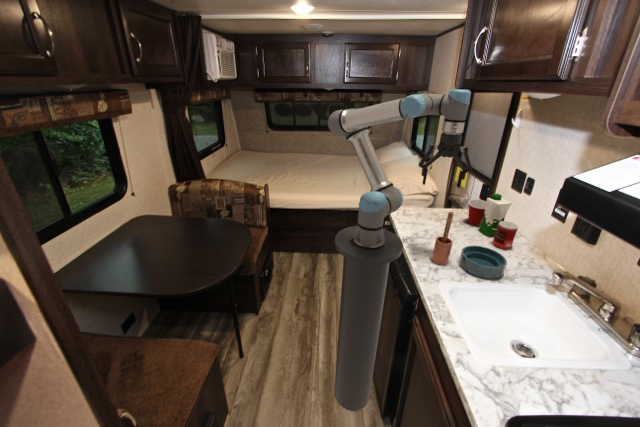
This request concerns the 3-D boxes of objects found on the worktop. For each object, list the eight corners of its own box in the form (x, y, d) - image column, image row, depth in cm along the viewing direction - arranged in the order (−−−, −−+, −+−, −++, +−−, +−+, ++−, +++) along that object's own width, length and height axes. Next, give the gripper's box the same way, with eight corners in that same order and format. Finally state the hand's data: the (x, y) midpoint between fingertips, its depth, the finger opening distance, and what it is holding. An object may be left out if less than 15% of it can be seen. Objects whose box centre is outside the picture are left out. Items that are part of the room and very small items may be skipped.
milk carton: (490, 228, 154) (501, 192, 145) (503, 236, 146) (515, 199, 137) (475, 229, 152) (486, 193, 144) (488, 237, 144) (499, 200, 136)
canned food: (511, 244, 139) (518, 223, 134) (510, 251, 133) (517, 230, 128) (493, 239, 143) (499, 219, 138) (491, 246, 137) (498, 225, 132)
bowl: (463, 276, 115) (467, 264, 113) (455, 254, 130) (458, 243, 128) (508, 282, 112) (513, 270, 110) (495, 259, 127) (498, 248, 125)
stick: (436, 260, 124) (447, 213, 114) (435, 256, 126) (446, 210, 117) (444, 261, 123) (455, 214, 114) (443, 257, 126) (454, 211, 116)
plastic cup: (460, 223, 158) (465, 203, 153) (466, 217, 166) (471, 197, 161) (482, 229, 152) (488, 208, 147) (487, 222, 159) (493, 202, 154)
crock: (432, 263, 123) (437, 243, 119) (430, 255, 128) (435, 235, 124) (448, 265, 122) (454, 245, 117) (446, 257, 127) (451, 237, 123)
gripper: (418, 132, 111) (410, 185, 120) (489, 136, 106) (475, 191, 115) (417, 129, 117) (409, 179, 126) (484, 133, 113) (470, 185, 122)
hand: (440, 185), depth 121 cm, fingers open, 13 cm apart
